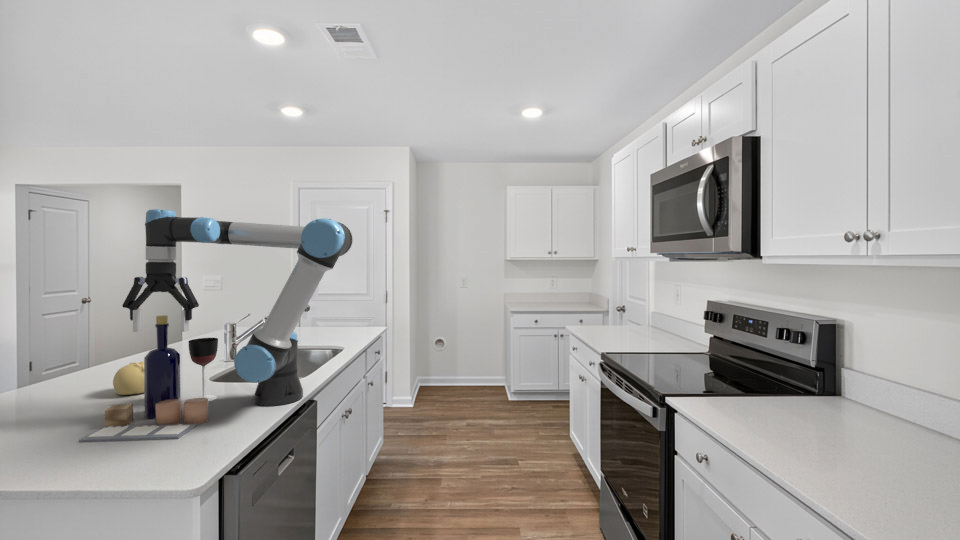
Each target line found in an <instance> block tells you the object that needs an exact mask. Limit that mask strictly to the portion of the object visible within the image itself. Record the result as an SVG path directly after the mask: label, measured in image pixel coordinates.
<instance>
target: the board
mask: <svg viewBox="0 0 960 540" xmlns="http://www.w3.org/2000/svg"><path fill="white" fill-rule="evenodd" d="M196 427H197V424H184V423H178V424H172V425H156V424H144V425H127V426H105V425H104V426H103V427H100V429H97V430H96V431H94V432H93V431H92V432H91V433H89V434H88V435H87V434H86V436H84V437H81V438H80V439H78V442H79V443H87V442H88V443H90V442H91V443H93V442H94V443H96V442H117V441H118V442H123V441H126V442H127V441H149V440H151V441H152V440H179V439H180V438H182V437H183V436H184V435H186V434H188V433H189V432H190V431H191V430H193V429H194V428H196Z"/></svg>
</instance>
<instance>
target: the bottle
mask: <svg viewBox="0 0 960 540" xmlns="http://www.w3.org/2000/svg"><path fill="white" fill-rule="evenodd" d="M155 318H156V319H155V320H156V323H155V325H154V327H155V328H156V348H154V349H152V350H149V352H148V353H146V355H145V356H144V358H143V362H144V394H143V395H144V418H145V419H148V420H156V403H158V402H161V401H165V400H171V399H179V400H181V354H180V353H179V352H178V351H177V350H176V349H175V348H172V347H168V343H169V342H168V337H169V336H168V335H169V334H168V333H169V331H168V330H169V328H168V327H170V325H169V316H168V315H166V314H165V315H156V316H155Z"/></svg>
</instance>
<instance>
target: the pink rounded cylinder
mask: <svg viewBox="0 0 960 540" xmlns="http://www.w3.org/2000/svg"><path fill="white" fill-rule="evenodd" d="M181 422H182V400H181V399H180V400H179V399H171V400H165V401H161V402H158V403H156V419H155V425H172V424H181Z"/></svg>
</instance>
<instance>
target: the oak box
mask: <svg viewBox="0 0 960 540" xmlns="http://www.w3.org/2000/svg"><path fill="white" fill-rule="evenodd" d="M133 420H134V404H133V402H132V403H131V402H130V403H123V404H112V405H110V406H109V407H108V408H106V409H105V410H104V427H105V426H129V424H131V423H132V422H133Z"/></svg>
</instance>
